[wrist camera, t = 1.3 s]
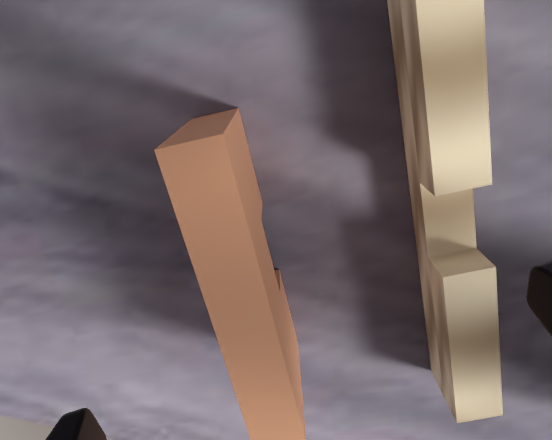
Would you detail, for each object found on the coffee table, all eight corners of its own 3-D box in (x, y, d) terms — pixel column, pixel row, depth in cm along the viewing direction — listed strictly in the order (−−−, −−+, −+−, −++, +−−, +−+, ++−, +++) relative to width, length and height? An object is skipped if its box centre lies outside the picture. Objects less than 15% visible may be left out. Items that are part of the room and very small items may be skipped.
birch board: (470, 363, 27) (502, 415, 23) (431, 371, 27) (457, 422, 23) (439, -38, 19) (481, -60, 15) (384, -24, 19) (411, -42, 15)
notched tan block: (297, 341, 26) (305, 440, 19) (258, 349, 26) (253, 448, 20) (238, 107, 21) (222, 133, 14) (190, 119, 21) (154, 150, 15)
